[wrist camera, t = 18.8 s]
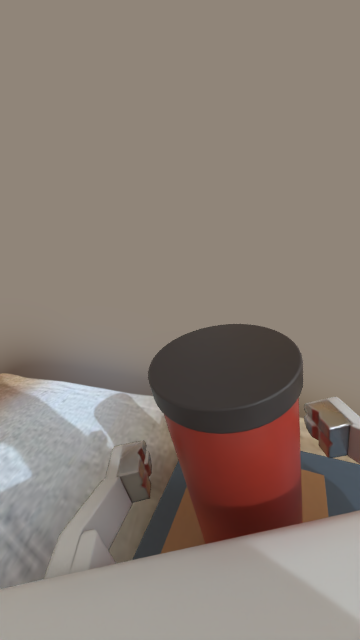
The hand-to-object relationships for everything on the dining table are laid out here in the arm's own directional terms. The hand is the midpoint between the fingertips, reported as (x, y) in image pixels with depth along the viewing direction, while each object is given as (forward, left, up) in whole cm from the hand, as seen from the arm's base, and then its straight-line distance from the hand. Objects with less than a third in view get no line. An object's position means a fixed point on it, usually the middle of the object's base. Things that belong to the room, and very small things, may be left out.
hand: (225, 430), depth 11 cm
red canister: (+1, -1, -6) cm, 6 cm away
